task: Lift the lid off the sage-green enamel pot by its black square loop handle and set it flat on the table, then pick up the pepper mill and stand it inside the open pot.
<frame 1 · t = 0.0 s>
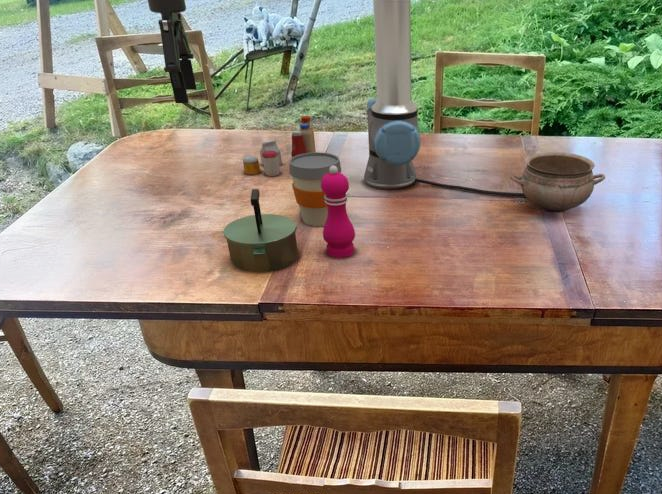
hand: (186, 95, 142), 28 cm above the table, tool pointing down, fingers open, 13 cm apart
lid: (260, 230, 133), point 6 cm above the table, touching pot
pot: (265, 257, 137), on the table
pepper mill: (340, 252, 139), on the table
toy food: (287, 166, 187), on the table
cooking pot: (553, 208, 162), on the table
reusable coffee cup: (320, 219, 154), on the table
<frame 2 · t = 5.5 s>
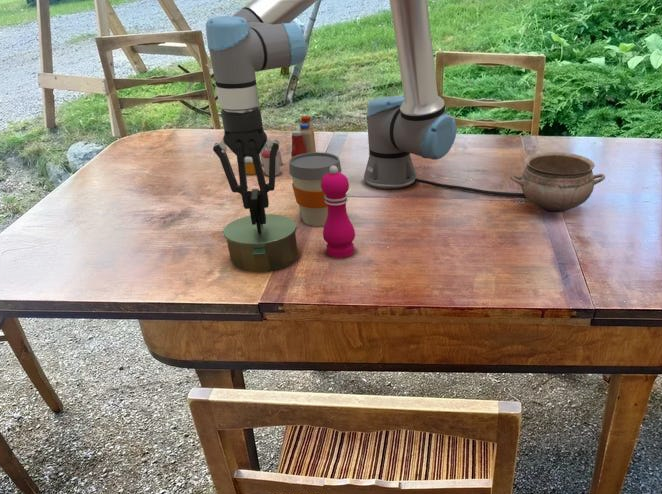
hand: (259, 221, 131), 9 cm above the table, tool pointing down, fingers closed on lid, 1 cm apart
lid: (260, 230, 133), point 7 cm above the table, touching gripper, pot
everything else where it was.
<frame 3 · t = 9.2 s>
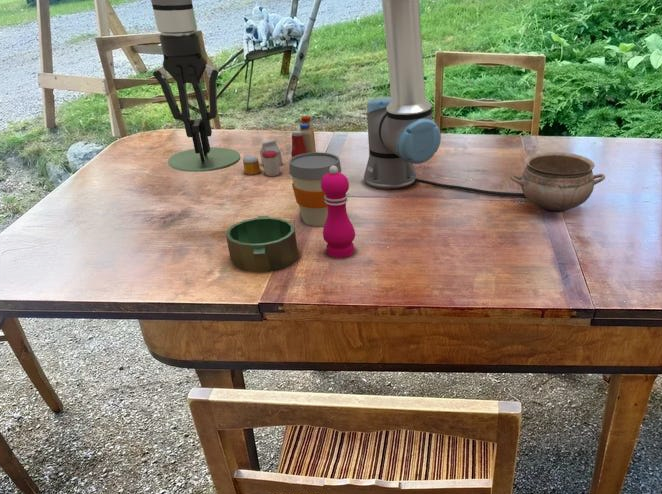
hand: (203, 151, 135), 20 cm above the table, tool pointing down, fingers closed on lid, 1 cm apart
lid: (204, 160, 136), point 18 cm above the table, touching gripper
everything else where it was.
when the fingers open (3 cm above the table, at t = 13.0 s): lid stays where it is, point 1 cm above the table.
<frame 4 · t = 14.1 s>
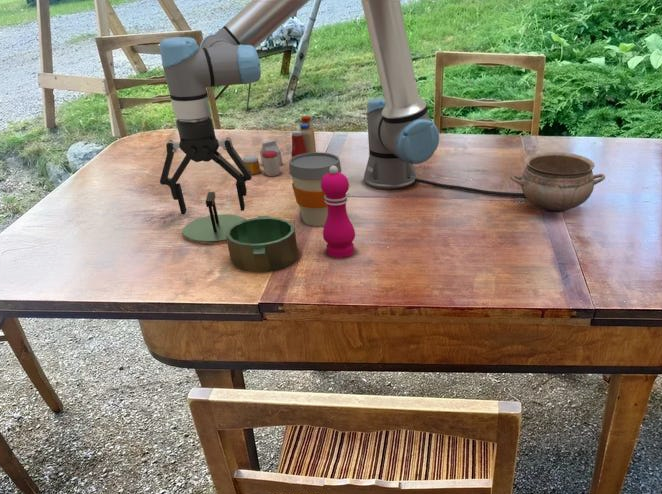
hand: (213, 210, 144), 5 cm above the table, tool pointing down, fingers open, 13 cm apart
lid: (216, 229, 147), point 1 cm above the table
everything else where it was.
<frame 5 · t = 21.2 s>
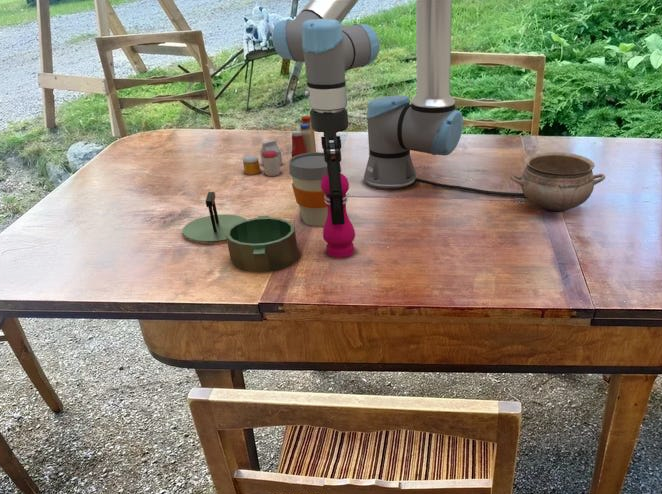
hand: (337, 218, 134), 8 cm above the table, tool pointing down, fingers closed on pepper mill, 5 cm apart
pepper mill: (340, 252, 139), on the table, touching gripper
everything else where it was.
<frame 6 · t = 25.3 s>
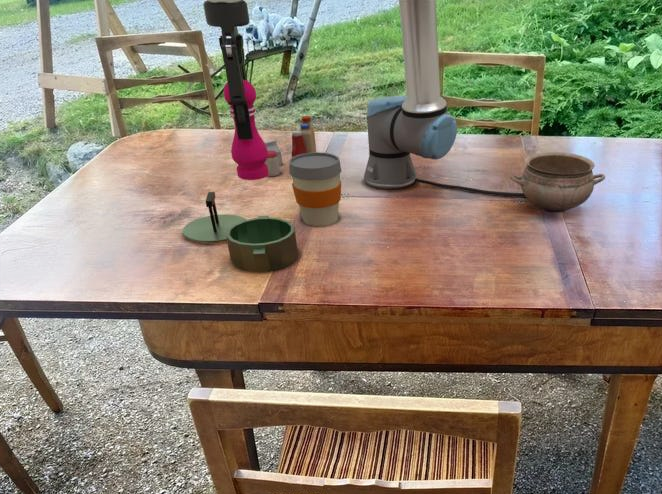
hand: (246, 134, 121), 27 cm above the table, tool pointing down, fingers closed on pepper mill, 5 cm apart
pepper mill: (253, 176, 126), point 19 cm above the table, touching gripper
everything else where it was.
when the fingers open (9 cm above the table, at t = 29.4 s): pepper mill stays where it is, resting on pot.
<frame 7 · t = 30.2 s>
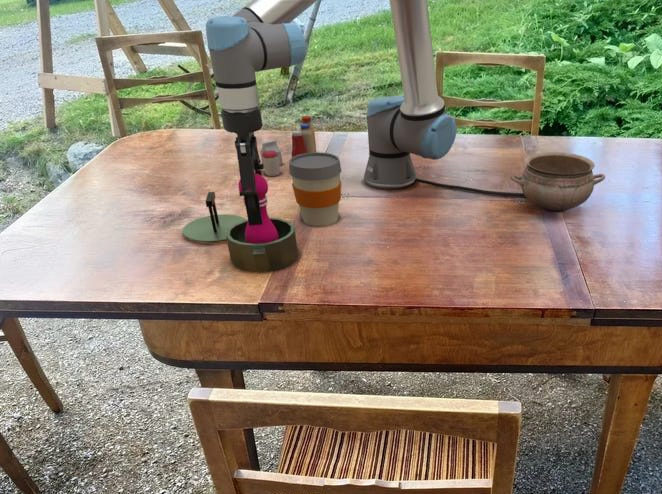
hand: (257, 211, 130), 11 cm above the table, tool pointing down, fingers open, 13 cm apart
pepper mill: (264, 255, 136), resting on pot
everything else where it was.
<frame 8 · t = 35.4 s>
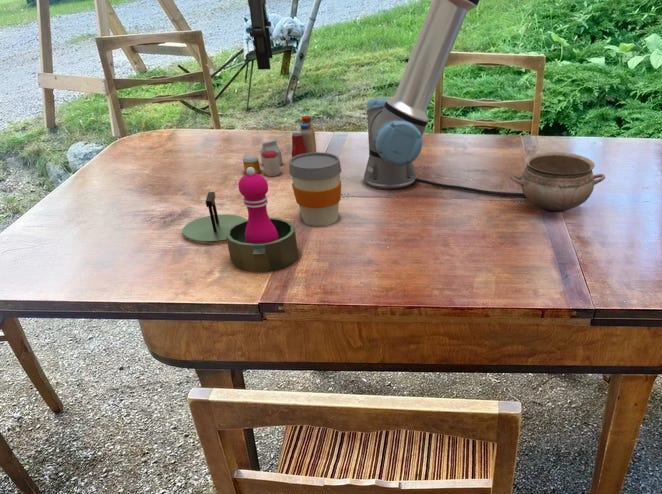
hand: (265, 63, 140), 35 cm above the table, tool pointing down, fingers open, 13 cm apart
nothing on the table moved.
at the end: lid inside the target area (0.1 cm from its centre), point 0.6 cm above the table; pepper mill 0.0 cm off-centre in the pot, point 0.3 cm above the pot's base; pepper mill tilted 0° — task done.
